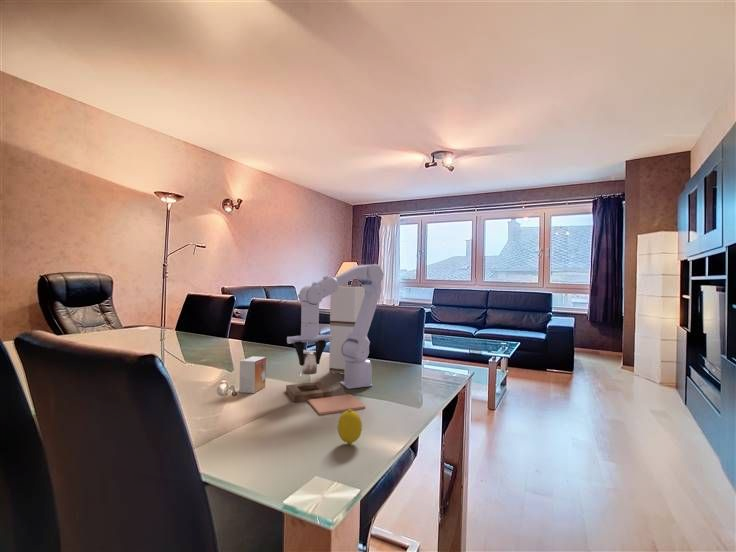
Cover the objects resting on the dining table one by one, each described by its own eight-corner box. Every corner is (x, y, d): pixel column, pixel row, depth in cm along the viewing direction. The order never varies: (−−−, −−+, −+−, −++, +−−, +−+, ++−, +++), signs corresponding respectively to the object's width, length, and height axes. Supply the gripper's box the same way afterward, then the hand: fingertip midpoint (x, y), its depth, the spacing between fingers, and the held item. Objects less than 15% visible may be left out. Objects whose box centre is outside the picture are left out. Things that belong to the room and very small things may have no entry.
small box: (254, 393, 119) (254, 361, 119) (238, 392, 120) (239, 360, 120) (266, 386, 127) (266, 356, 127) (251, 385, 128) (251, 355, 128)
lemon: (337, 439, 86) (337, 405, 86) (360, 438, 86) (361, 405, 86) (337, 450, 80) (337, 414, 80) (362, 449, 81) (362, 413, 81)
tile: (350, 396, 118) (350, 394, 118) (365, 408, 107) (365, 406, 107) (308, 401, 112) (308, 399, 112) (319, 414, 101) (319, 412, 101)
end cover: (314, 370, 122) (314, 350, 122) (318, 373, 118) (318, 353, 118) (300, 371, 120) (300, 351, 120) (303, 375, 116) (304, 354, 116)
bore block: (320, 387, 127) (320, 381, 127) (331, 397, 116) (331, 391, 116) (286, 391, 122) (286, 385, 122) (294, 402, 111) (294, 395, 111)
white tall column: (353, 375, 143) (354, 286, 144) (329, 372, 147) (330, 286, 148) (363, 369, 154) (365, 286, 155) (341, 366, 158) (342, 286, 158)
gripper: (290, 325, 113) (289, 368, 112) (335, 323, 119) (334, 365, 118) (285, 322, 119) (285, 364, 119) (328, 320, 125) (327, 360, 125)
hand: (309, 364), depth 119 cm, fingers closed on end cover, 5 cm apart
